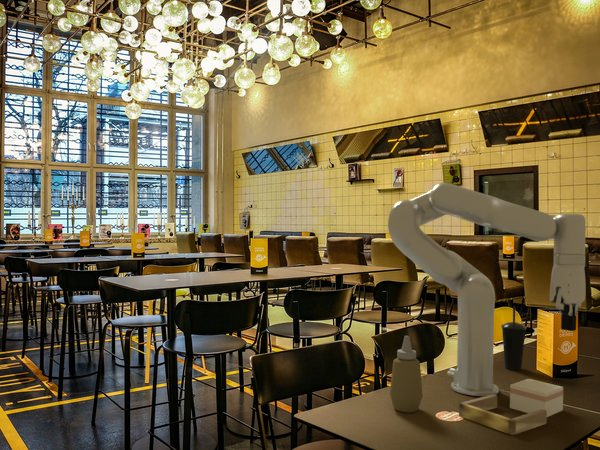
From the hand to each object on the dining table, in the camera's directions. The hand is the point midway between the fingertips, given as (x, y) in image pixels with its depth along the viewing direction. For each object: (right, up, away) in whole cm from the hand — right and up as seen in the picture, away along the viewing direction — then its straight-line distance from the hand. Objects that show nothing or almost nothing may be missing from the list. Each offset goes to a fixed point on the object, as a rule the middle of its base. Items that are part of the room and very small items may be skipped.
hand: (568, 329), depth 146 cm
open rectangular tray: (-23, -18, -16) cm, 33 cm away
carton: (-12, -18, -8) cm, 23 cm away
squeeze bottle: (-45, -18, -10) cm, 49 cm away
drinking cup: (-3, -19, +31) cm, 36 cm away
